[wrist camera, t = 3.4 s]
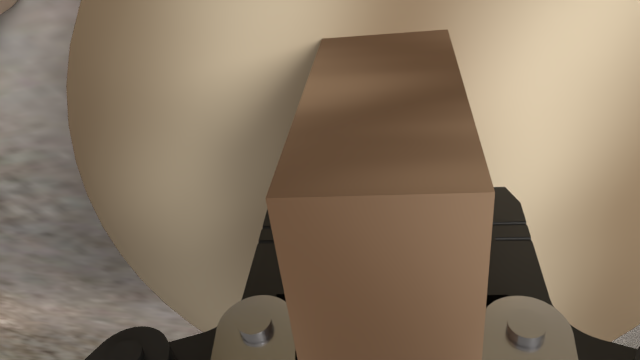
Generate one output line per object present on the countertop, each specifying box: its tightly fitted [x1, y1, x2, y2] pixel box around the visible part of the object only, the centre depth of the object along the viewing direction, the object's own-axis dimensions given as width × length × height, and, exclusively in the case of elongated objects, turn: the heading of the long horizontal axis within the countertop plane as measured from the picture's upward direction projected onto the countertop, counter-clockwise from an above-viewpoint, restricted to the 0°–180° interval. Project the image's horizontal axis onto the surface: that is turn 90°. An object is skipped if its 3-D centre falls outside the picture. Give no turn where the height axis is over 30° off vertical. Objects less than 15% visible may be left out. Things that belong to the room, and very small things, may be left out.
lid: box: [66, 0, 640, 360], centre depth 10 cm, size 15×15×6 cm
